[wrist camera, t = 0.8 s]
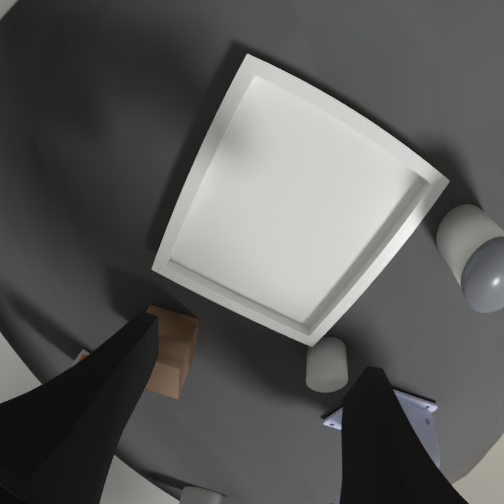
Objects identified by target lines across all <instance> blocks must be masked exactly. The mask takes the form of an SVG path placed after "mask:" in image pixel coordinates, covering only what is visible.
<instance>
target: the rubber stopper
mask: <svg viewBox="0 0 504 504" xmlns="http://www.w3.org/2000/svg"><path fill="white" fill-rule="evenodd" d="M347 382H348V369H347V356H346V346H345V344H344V343H343V342H342V341H341V340H340V339H338V338H335V337H322V338H321V339H320V340H319V341H318V342H317V343H316V344H315V345H314V346H313V347H310V346H308V348H307V367H306V384H307V386H308V387H309V388H311V389H312V390H314V391H317V392H333V391H337V390H339V389H341V388H343V387H344V386H345V385H346V384H347Z"/></svg>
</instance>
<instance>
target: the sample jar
mask: <svg viewBox="0 0 504 504" xmlns="http://www.w3.org/2000/svg"><path fill="white" fill-rule="evenodd" d="M436 243H437V247H438V250H439V251H440V253H441V255H442V256H443V258H444V259H445V261H446V263H447V264H448V266H449V267H450V269H451V271H452V272H453V274H454V276H455V277H456V279H457V281H458V282H459V284H460V286H461V289H462V293H463V295H464V296H465V298H466V300H467V302H468V304H469V305H470V307H471V308H472V309H473V310H475V311H477V312H481V313H489V312H494V311H496V310H499V309H501V308H503V307H504V231H503V230H502V229H501V228H500V227H499V226H498V225H497V224H496V223H495V222H494V221H493V220H492V219H490V218H489V217H488V216H487V215H486V214H485V213H484V212H483V211H482V210H481V209H480V208H478V207H477V206H475V205H471V204H464V205H460V206H457V207H455V208H453V209H452V210H450V211H449V212H448V213H447V214H446V215H445V216H444V218H443V219H442V221H441V222H440V224H439V227H438V230H437V234H436Z"/></svg>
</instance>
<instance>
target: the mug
mask: <svg viewBox="0 0 504 504" xmlns="http://www.w3.org/2000/svg"><path fill="white" fill-rule="evenodd" d="M223 500H224V497H223V495H221V494H219V493H217V492H215V491H212V490H208V489H204V488H200V487H193V486H186V487H184V489H183V492H182V496H181V499H180V503H179V504H223Z"/></svg>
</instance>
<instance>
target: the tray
mask: <svg viewBox="0 0 504 504" xmlns="http://www.w3.org/2000/svg"><path fill="white" fill-rule="evenodd" d="M449 182H450V181H449V180H448V179H447V178H446V177H445V176H443V175H442V174H441V173H440V172H439V171H437V170H436V169H435V168H434V167H432V166H431V165H430V164H429V163H427V162H426V161H425V160H424V159H422V158H421V157H420V156H419V155H417V154H416V153H415V152H413V151H412V150H411V149H409V148H408V147H407V146H405V145H404V144H403V143H401V142H400V141H398V140H397V139H396V138H394V137H393V136H392V135H390V134H389V133H387V132H386V131H384V130H383V129H381V128H380V127H379V126H377V125H376V124H374V123H373V122H371V121H370V120H368V119H367V118H365V117H364V116H362V115H360V114H359V113H357V112H356V111H354V110H353V109H351V108H349V107H348V106H346V105H344V104H343V103H341V102H340V101H338V100H336V99H334V98H333V97H331V96H329V95H328V94H326V93H324V92H322V91H321V90H319V89H317V88H315V87H314V86H312V85H310V84H308V83H306V82H304V81H302V80H301V79H299V78H297V77H295V76H293V75H291V74H289V73H287V72H285V71H283V70H281V69H279V68H277V67H275V66H273V65H271V64H269V63H267V62H265V61H262V60H260V59H258V58H256V57H254V56H251V55H249V54H247V55H246V57H245V59H244V60H243V62H242V64H241V66H240V68H239V70H238V72H237V74H236V76H235V78H234V79H233V81H232V83H231V85H230V87H229V89H228V91H227V93H226V95H225V97H224V99H223V101H222V103H221V105H220V107H219V109H218V111H217V113H216V116H215V118H214V120H213V122H212V124H211V126H210V128H209V130H208V132H207V135H206V137H205V139H204V141H203V143H202V145H201V148H200V150H199V152H198V154H197V157H196V159H195V161H194V163H193V166H192V168H191V170H190V173H189V175H188V177H187V180H186V182H185V184H184V187H183V189H182V191H181V194H180V196H179V199H178V201H177V204H176V206H175V208H174V211H173V213H172V216H171V218H170V221H169V224H168V226H167V229H166V231H165V234H164V237H163V239H162V242H161V244H160V247H159V250H158V253H157V255H156V258H155V261H154V264H153V266H152V269H151V270H153V271H155V272H157V273H159V274H161V275H163V276H164V277H166V278H168V279H170V280H172V281H174V282H176V283H178V284H180V285H182V286H184V287H186V288H188V289H190V290H192V291H194V292H196V293H198V294H200V295H202V296H204V297H206V298H208V299H210V300H212V301H214V302H216V303H218V304H220V305H222V306H224V307H226V308H228V309H230V310H232V311H234V312H236V313H238V314H240V315H242V316H245V317H247V318H249V319H251V320H253V321H255V322H257V323H259V324H262V325H264V326H266V327H268V328H270V329H272V330H275V331H277V332H279V333H281V334H283V335H286V336H288V337H290V338H292V339H295V340H297V341H299V342H301V343H304V344H306V345H308V346H310V347H313V346H314V345H315V344H316V343H317V342H318V341H319V340H320V339H321V338H322V337H323V336H324V335H325V333H326V332H327V331H328V330H329V329H330V328H331V327H332V326H333V325H334V324H335V323H336V322H337V321H338V320H339V319H340V318H341V316H342V315H343V314H344V313H345V312H346V311H347V310H348V309H349V308H350V307H351V306H352V304H353V303H354V302H355V301H356V300H357V299H358V298H359V297H360V295H361V294H362V293H363V292H364V291H365V290H366V289H367V287H368V286H369V285H370V284H371V283H372V282H373V281H374V279H375V278H376V277H377V276H378V275H379V273H380V272H381V271H382V270H383V269H384V267H385V266H386V265H387V264H388V263H389V261H390V260H391V259H392V258H393V257H394V255H395V254H396V253H397V252H398V250H399V249H400V248H401V247H402V245H403V244H404V243H405V242H406V240H407V239H408V238H409V236H410V235H411V234H412V233H413V231H414V230H415V229H416V227H417V226H418V225H419V223H420V222H421V221H422V219H423V218H424V217H425V215H426V214H427V213H428V211H429V210H430V209H431V207H432V206H433V205H434V203H435V202H436V200H437V199H438V198H439V196H440V195H441V193H442V192H443V191H444V189H445V188H446V186H447V185H448V183H449Z"/></svg>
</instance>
